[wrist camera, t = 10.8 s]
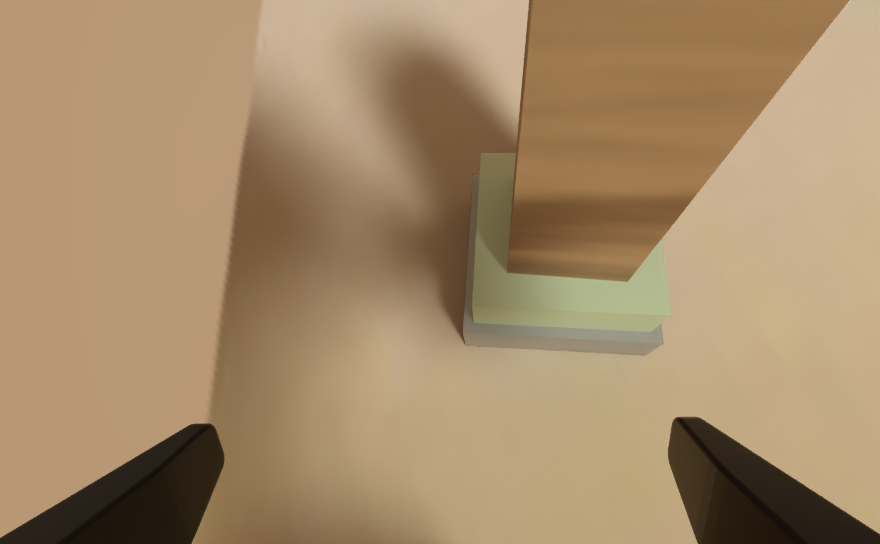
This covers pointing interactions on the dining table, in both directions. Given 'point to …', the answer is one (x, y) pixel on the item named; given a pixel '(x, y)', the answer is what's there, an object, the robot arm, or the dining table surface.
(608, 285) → the tower top slab
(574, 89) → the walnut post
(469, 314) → the tower base slab
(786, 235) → the dining table surface
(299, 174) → the dining table surface
